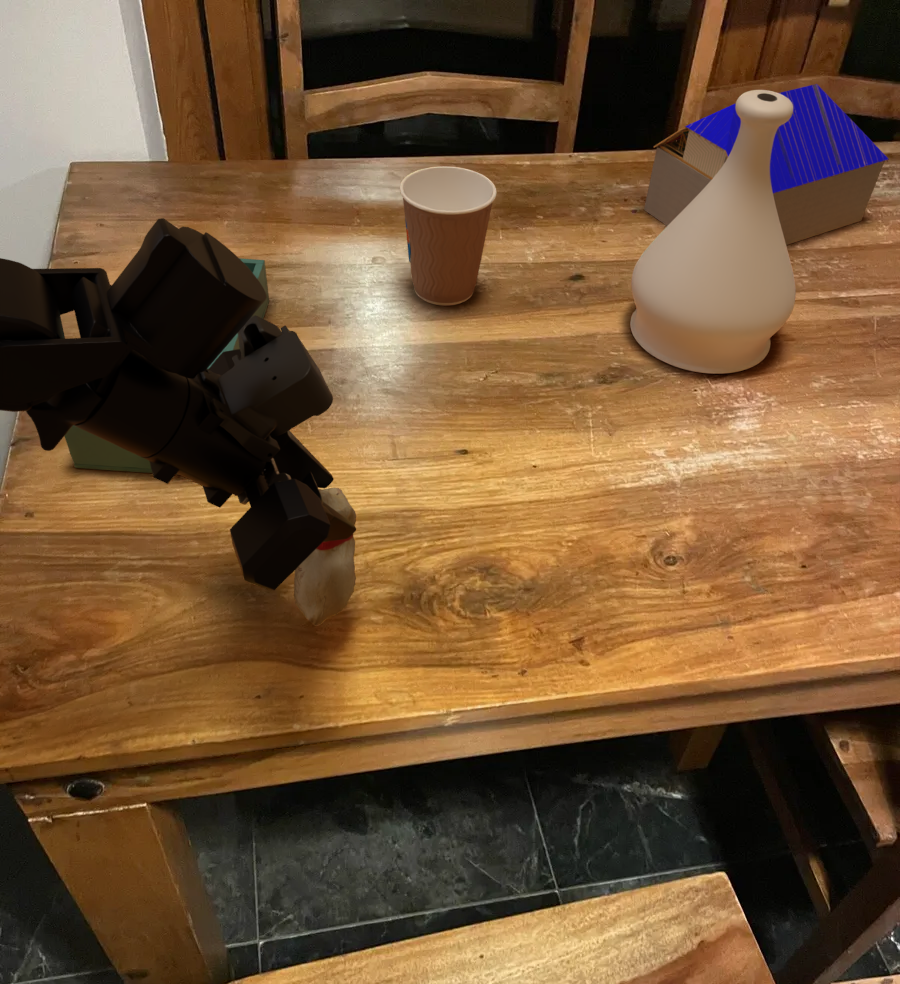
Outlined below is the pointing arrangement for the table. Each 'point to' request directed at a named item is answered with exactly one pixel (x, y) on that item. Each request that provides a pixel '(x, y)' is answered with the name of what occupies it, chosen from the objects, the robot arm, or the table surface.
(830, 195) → the house
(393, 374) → the table surface
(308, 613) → the chocolate bunny
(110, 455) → the bin
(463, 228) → the coffee cup
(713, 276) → the vase
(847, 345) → the table surface
